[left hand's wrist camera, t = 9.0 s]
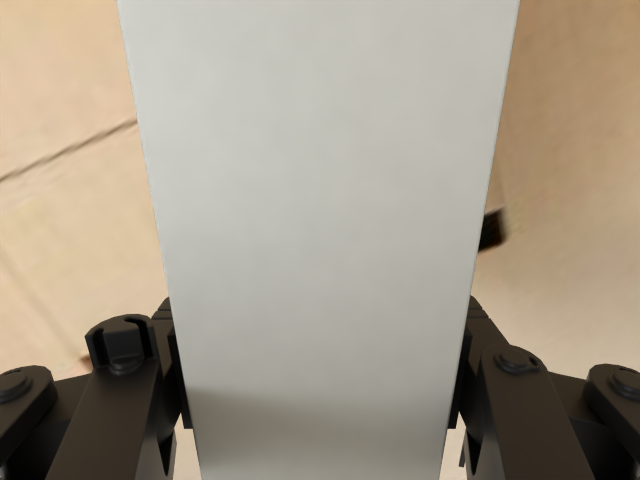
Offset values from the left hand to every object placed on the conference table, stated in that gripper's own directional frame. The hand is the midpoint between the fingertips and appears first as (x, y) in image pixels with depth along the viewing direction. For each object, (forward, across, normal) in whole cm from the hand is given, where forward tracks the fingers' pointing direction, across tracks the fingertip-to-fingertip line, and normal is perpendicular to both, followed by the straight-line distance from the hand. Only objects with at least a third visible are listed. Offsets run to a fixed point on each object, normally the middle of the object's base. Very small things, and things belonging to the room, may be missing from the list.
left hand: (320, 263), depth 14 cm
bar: (+1, 0, -7) cm, 7 cm away
